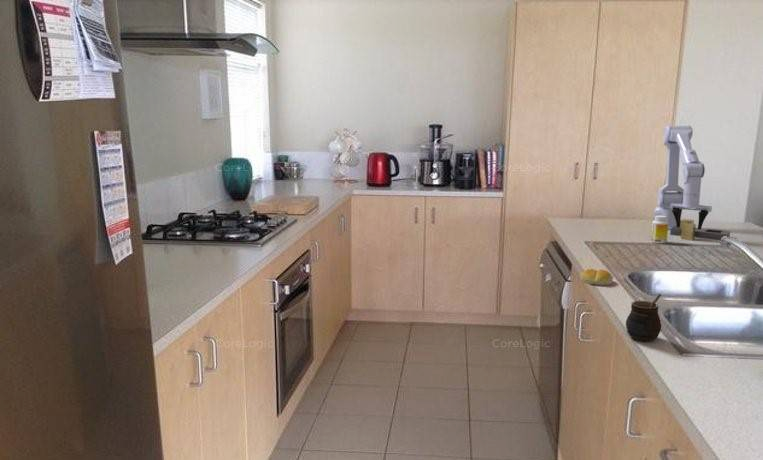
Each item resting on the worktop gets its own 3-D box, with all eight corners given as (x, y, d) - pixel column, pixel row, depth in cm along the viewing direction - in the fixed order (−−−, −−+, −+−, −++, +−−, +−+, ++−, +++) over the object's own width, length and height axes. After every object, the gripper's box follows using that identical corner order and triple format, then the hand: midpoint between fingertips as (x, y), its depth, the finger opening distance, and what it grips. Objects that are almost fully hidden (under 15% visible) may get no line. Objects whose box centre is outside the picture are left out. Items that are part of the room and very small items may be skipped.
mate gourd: (617, 335, 135) (620, 293, 134) (641, 330, 139) (644, 288, 137) (643, 346, 129) (646, 302, 127) (668, 340, 132) (671, 297, 130)
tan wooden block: (680, 239, 235) (682, 224, 234) (683, 237, 238) (685, 222, 237) (691, 240, 233) (693, 225, 232) (694, 238, 236) (696, 224, 235)
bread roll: (583, 277, 184) (584, 264, 183) (614, 281, 180) (615, 268, 179) (576, 283, 177) (577, 270, 177) (608, 288, 173) (609, 274, 172)
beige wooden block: (679, 234, 244) (680, 220, 243) (682, 233, 247) (683, 219, 246) (690, 235, 241) (691, 221, 240) (692, 234, 244) (694, 220, 243)
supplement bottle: (670, 242, 229) (672, 216, 227) (658, 244, 227) (660, 217, 225) (658, 240, 234) (660, 214, 232) (647, 241, 232) (649, 215, 230)
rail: (670, 234, 245) (670, 228, 244) (676, 231, 250) (676, 225, 250) (724, 240, 231) (725, 234, 231) (729, 237, 237) (730, 231, 237)
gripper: (668, 193, 234) (666, 227, 237) (709, 196, 225) (706, 231, 227) (674, 191, 239) (671, 225, 242) (714, 194, 230) (711, 228, 232)
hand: (688, 228), depth 235 cm, fingers open, 7 cm apart
